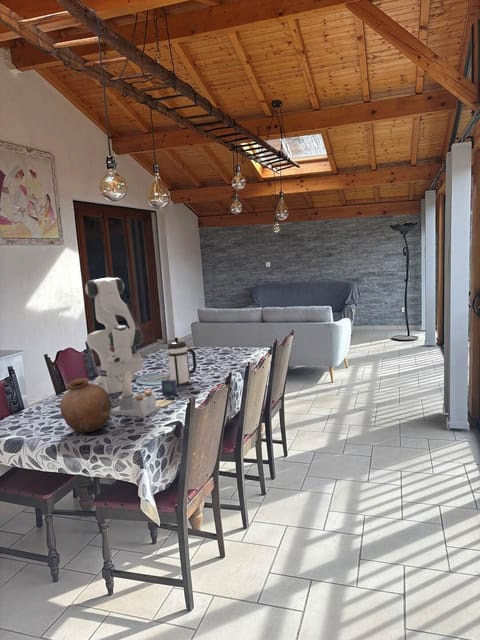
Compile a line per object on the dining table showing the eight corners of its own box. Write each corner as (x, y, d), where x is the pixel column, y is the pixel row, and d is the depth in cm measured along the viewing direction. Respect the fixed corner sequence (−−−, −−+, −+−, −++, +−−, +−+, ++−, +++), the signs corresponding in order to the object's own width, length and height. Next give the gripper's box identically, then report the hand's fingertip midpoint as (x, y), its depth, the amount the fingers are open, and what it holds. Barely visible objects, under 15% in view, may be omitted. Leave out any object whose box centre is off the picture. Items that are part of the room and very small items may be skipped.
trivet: (147, 406, 259) (147, 405, 259) (158, 400, 268) (158, 399, 268) (162, 407, 255) (162, 406, 255) (173, 401, 264) (172, 400, 264)
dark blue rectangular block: (178, 393, 279) (176, 376, 278) (176, 395, 277) (174, 377, 275) (163, 394, 282) (161, 376, 280) (161, 395, 279) (159, 377, 277)
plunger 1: (134, 409, 246) (133, 396, 245) (139, 406, 249) (138, 394, 249) (141, 410, 244) (140, 397, 243) (146, 407, 248) (145, 394, 247)
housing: (110, 413, 252) (108, 399, 251) (127, 405, 264) (125, 391, 263) (144, 417, 242) (143, 401, 241) (160, 408, 255) (158, 393, 254)
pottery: (117, 419, 242) (111, 371, 238) (106, 436, 219) (100, 384, 215) (72, 423, 241) (66, 375, 238) (56, 440, 218) (49, 388, 215)
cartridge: (124, 398, 250) (122, 370, 248) (121, 396, 254) (119, 369, 253) (133, 397, 253) (131, 369, 251) (130, 395, 257) (129, 367, 255)
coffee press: (189, 387, 292) (185, 339, 288) (165, 387, 296) (160, 340, 291) (197, 379, 309) (193, 334, 305) (174, 379, 312) (170, 335, 308)
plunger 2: (143, 405, 252) (142, 392, 251) (148, 402, 256) (147, 390, 255) (150, 405, 250) (148, 393, 250) (155, 403, 254) (153, 390, 253)
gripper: (137, 351, 260) (139, 376, 262) (103, 359, 246) (106, 385, 248) (143, 352, 256) (145, 377, 258) (109, 360, 242) (112, 387, 244)
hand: (126, 381), depth 253 cm, fingers closed on cartridge, 5 cm apart
